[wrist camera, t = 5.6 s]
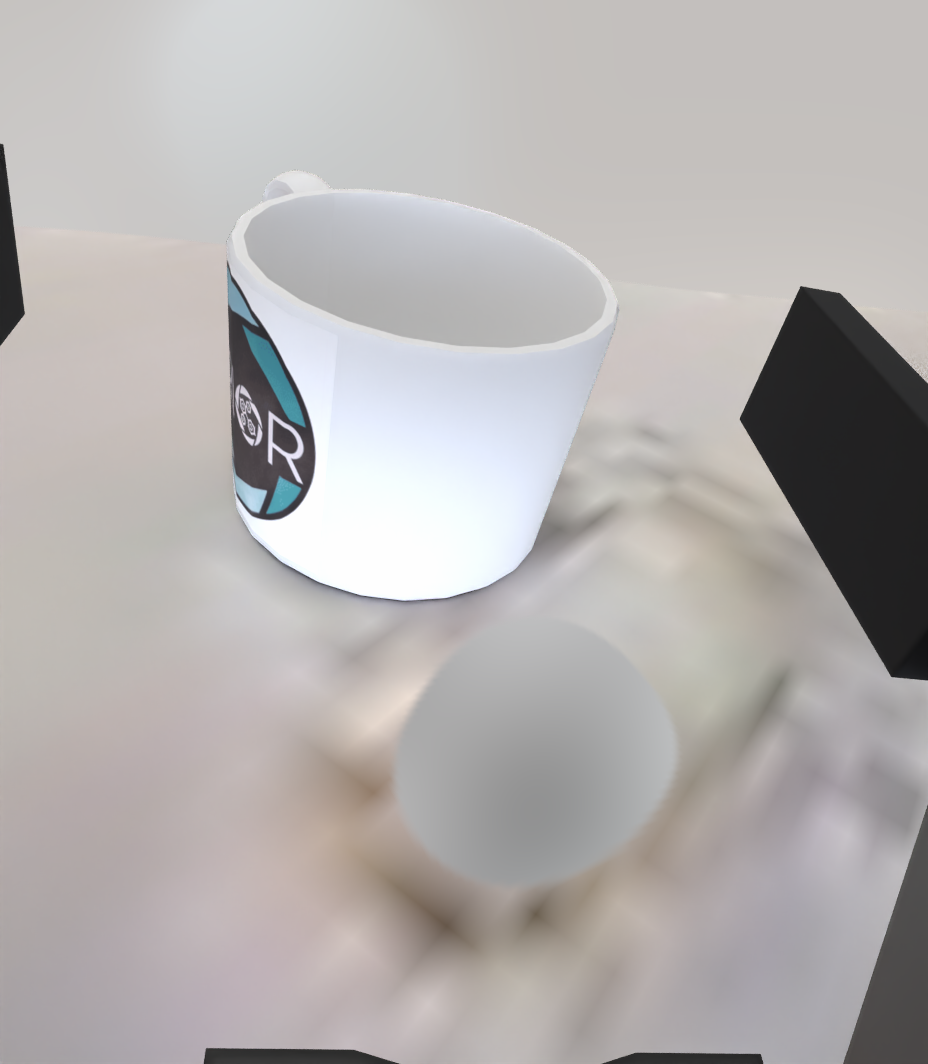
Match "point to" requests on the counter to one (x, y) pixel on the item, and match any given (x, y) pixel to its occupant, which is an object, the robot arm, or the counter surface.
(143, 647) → the counter surface
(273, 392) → the mug
